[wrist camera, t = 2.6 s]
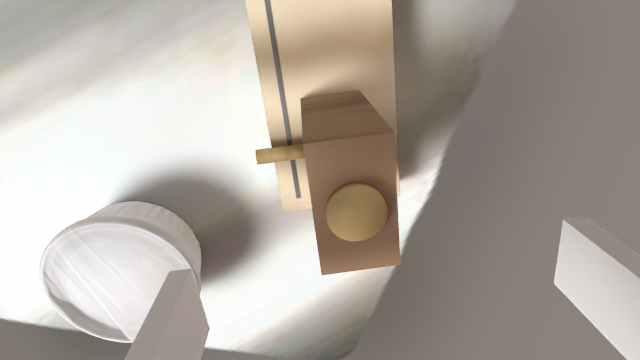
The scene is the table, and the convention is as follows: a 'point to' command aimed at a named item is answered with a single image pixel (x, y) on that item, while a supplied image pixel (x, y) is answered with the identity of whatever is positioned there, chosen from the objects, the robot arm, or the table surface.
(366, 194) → the tan boxy wooden piece
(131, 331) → the ramekin
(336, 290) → the table surface
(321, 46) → the board
